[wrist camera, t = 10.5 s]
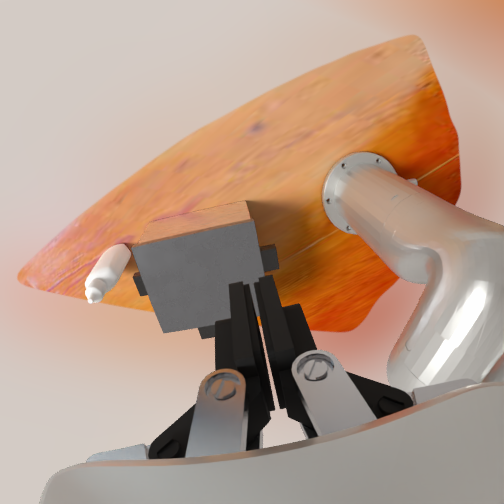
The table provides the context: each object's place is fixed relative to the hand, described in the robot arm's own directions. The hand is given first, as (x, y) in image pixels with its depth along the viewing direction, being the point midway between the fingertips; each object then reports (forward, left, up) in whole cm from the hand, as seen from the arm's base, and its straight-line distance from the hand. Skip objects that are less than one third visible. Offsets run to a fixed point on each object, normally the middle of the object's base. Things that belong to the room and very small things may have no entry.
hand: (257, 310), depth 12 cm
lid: (+6, +13, -24) cm, 28 cm away
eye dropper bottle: (+20, +10, -32) cm, 39 cm away
